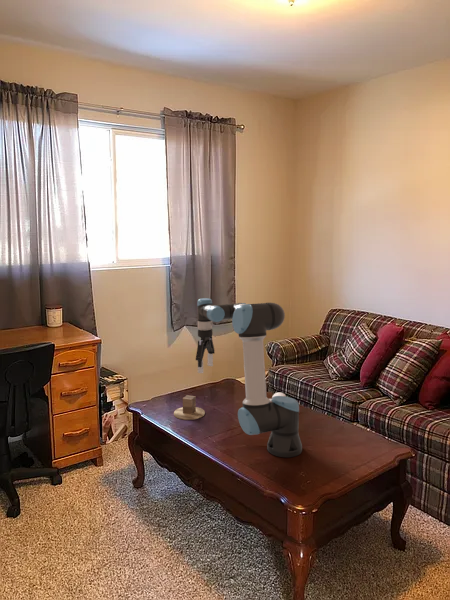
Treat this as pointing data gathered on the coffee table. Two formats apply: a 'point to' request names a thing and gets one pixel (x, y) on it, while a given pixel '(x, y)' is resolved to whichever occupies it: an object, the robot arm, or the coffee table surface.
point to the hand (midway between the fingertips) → (205, 369)
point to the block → (189, 404)
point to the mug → (277, 395)
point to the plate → (195, 415)
